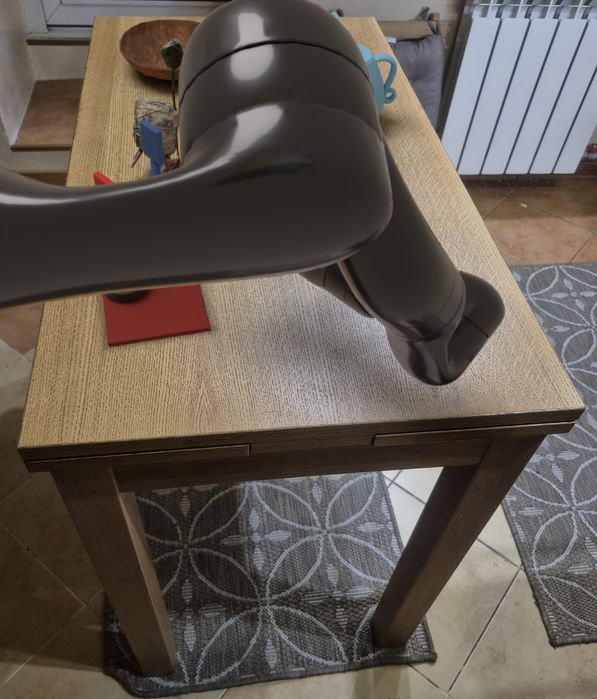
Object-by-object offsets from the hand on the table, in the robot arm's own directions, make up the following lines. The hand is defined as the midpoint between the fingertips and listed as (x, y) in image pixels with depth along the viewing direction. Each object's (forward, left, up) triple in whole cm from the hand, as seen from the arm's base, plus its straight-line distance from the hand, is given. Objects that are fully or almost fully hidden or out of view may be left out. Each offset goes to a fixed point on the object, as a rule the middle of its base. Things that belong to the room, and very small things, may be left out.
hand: (209, 169), depth 69 cm
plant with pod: (-2, +24, -16) cm, 29 cm away
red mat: (-8, -3, -16) cm, 19 cm away
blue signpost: (-5, +10, -16) cm, 19 cm away
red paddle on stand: (-11, 0, -16) cm, 19 cm away
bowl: (+4, +60, -16) cm, 62 cm away
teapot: (+29, +36, -16) cm, 48 cm away
